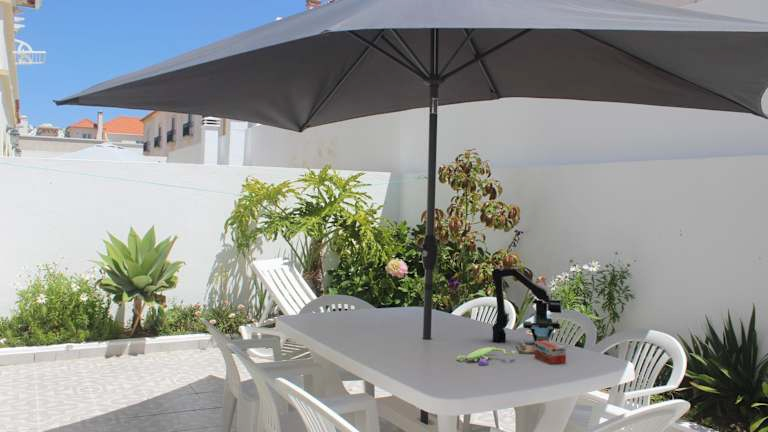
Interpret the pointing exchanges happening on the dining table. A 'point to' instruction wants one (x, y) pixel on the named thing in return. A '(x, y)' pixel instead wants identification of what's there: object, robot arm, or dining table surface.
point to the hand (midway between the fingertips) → (541, 341)
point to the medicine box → (550, 352)
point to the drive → (541, 337)
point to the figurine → (483, 355)
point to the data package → (542, 330)
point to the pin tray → (528, 350)
